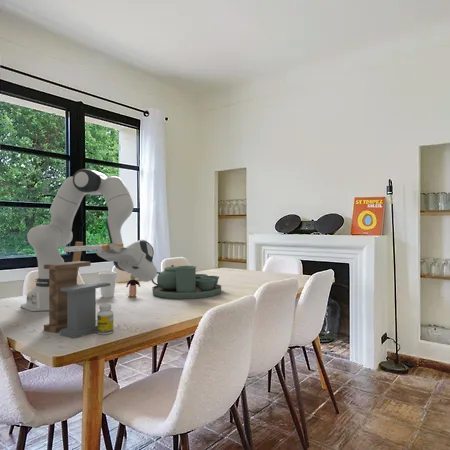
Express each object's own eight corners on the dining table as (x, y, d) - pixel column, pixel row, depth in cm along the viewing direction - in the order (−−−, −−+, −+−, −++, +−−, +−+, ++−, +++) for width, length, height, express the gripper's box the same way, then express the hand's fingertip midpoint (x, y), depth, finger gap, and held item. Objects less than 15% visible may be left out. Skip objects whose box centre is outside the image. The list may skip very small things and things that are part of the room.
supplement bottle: (94, 334, 126) (93, 306, 126) (104, 329, 131) (104, 303, 131) (106, 335, 124) (106, 307, 124) (116, 331, 129) (116, 304, 129)
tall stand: (43, 330, 131) (43, 264, 131) (78, 321, 144) (78, 261, 144) (55, 333, 127) (55, 265, 127) (90, 323, 140) (90, 261, 140)
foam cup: (117, 297, 192) (117, 273, 192) (98, 298, 189) (98, 274, 189) (116, 294, 201) (116, 271, 201) (98, 295, 198) (98, 272, 198)
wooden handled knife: (63, 251, 125) (63, 246, 125) (118, 247, 146) (118, 243, 146) (69, 251, 123) (69, 247, 123) (123, 247, 145) (123, 243, 145)
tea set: (235, 294, 201) (235, 264, 202) (171, 303, 178) (171, 269, 179) (199, 285, 234) (199, 260, 234) (140, 291, 211) (140, 263, 211)
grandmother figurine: (125, 297, 191) (125, 274, 191) (126, 296, 195) (126, 273, 195) (140, 297, 193) (140, 273, 193) (140, 295, 197) (140, 272, 197)
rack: (60, 335, 124) (60, 287, 124) (97, 324, 138) (97, 281, 138) (73, 338, 121) (73, 289, 121) (110, 326, 135) (110, 283, 135)
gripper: (113, 252, 156) (90, 237, 145) (149, 254, 146) (127, 238, 135) (108, 266, 153) (84, 251, 143) (144, 268, 143) (121, 253, 132)
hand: (105, 245), depth 139 cm, fingers closed on wooden handled knife, 3 cm apart
